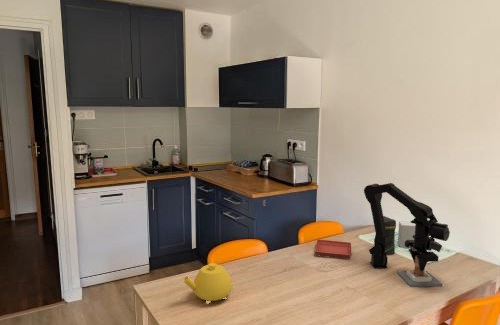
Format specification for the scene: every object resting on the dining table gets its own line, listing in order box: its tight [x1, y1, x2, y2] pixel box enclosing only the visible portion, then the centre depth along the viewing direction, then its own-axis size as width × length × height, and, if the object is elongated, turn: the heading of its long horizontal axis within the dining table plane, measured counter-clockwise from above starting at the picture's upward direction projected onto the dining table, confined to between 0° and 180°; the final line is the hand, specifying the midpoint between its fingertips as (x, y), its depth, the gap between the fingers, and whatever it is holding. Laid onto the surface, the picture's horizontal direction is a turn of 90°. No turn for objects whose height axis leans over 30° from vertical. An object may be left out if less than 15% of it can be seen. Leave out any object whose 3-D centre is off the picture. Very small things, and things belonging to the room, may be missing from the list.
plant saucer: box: [314, 239, 353, 259], centre depth 200 cm, size 18×18×3 cm
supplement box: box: [397, 221, 415, 249], centre depth 208 cm, size 7×7×13 cm
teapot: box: [182, 262, 233, 302], centre depth 151 cm, size 20×16×14 cm
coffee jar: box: [383, 215, 397, 256], centre depth 199 cm, size 10×8×19 cm
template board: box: [396, 269, 443, 288], centre depth 168 cm, size 14×13×2 cm
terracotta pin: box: [414, 255, 426, 276], centre depth 167 cm, size 4×4×8 cm
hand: (419, 268), depth 167 cm, fingers closed on terracotta pin, 4 cm apart
